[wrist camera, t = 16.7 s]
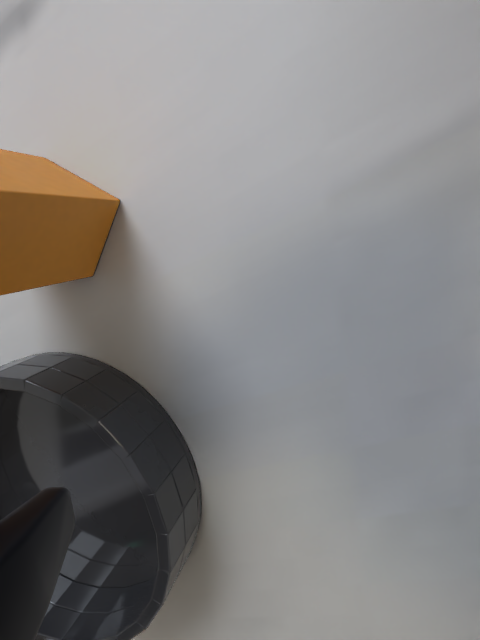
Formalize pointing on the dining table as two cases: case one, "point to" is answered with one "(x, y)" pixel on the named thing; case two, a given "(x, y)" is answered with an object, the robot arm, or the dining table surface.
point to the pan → (100, 489)
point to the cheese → (48, 223)
